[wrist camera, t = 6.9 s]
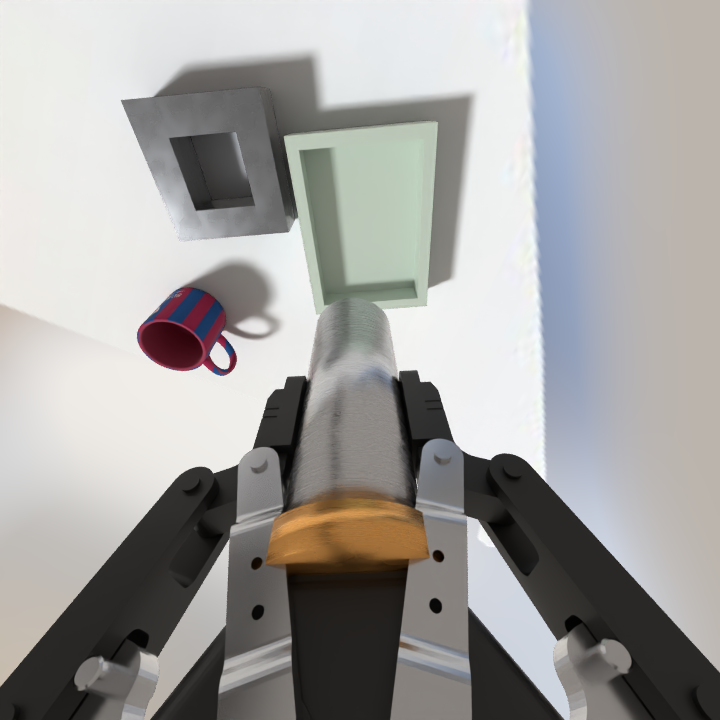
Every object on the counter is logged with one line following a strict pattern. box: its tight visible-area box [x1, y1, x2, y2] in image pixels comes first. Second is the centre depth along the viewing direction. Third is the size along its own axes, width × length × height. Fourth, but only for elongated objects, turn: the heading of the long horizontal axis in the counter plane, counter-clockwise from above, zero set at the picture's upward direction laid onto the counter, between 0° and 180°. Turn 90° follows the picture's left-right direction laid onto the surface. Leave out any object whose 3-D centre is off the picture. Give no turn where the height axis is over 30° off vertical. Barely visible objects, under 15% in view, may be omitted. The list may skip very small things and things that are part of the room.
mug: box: [137, 288, 237, 376], centre depth 37 cm, size 7×10×7 cm
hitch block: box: [121, 87, 295, 241], centre depth 27 cm, size 10×10×4 cm
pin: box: [256, 298, 442, 576], centre depth 13 cm, size 5×5×12 cm
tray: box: [284, 120, 438, 314], centre depth 31 cm, size 16×12×3 cm
